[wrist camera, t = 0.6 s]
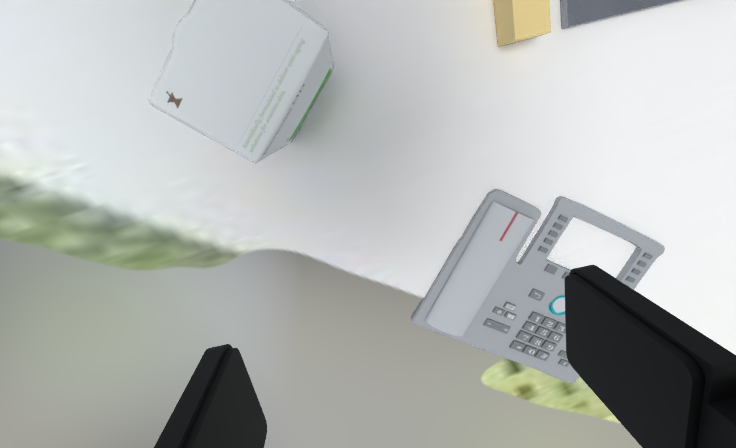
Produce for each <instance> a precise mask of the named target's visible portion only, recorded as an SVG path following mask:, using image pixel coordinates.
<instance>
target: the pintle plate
mask: <svg viewBox="0 0 736 448" xmlns="http://www.w3.org/2000/svg"><path fill="white" fill-rule="evenodd" d="M676 1H680V0H560V2H561V26H562V29H563V28H567V27H571V26H576V25H580V24H584V23H588V22H592V21H596V20H601V19H605V18H609V17H613V16H617V15H621V14H626V13H630V12H634V11H638V10H642V9H646V8H651V7H655V6H659V5H663V4H667V3H671V2H676Z"/></svg>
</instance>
